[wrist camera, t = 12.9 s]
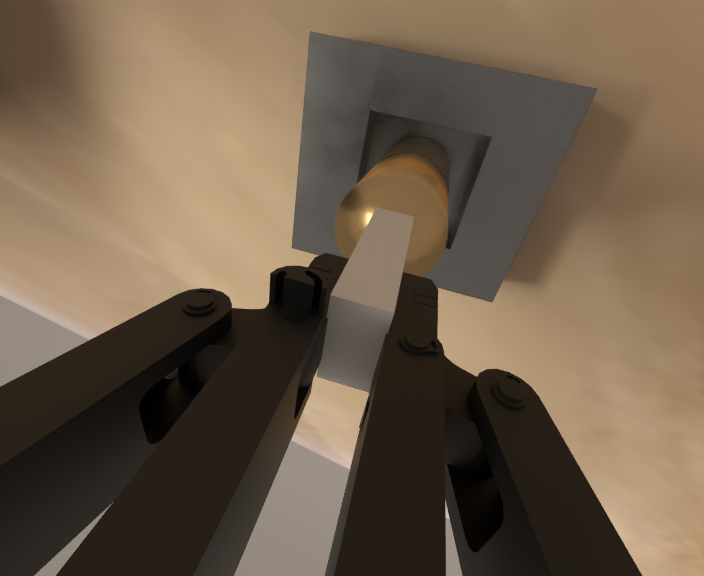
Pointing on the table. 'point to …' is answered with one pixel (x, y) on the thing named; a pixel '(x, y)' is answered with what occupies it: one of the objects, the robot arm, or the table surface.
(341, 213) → the golden brown cylinder
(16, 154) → the table surface
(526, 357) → the table surface
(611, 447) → the table surface
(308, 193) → the jig block
